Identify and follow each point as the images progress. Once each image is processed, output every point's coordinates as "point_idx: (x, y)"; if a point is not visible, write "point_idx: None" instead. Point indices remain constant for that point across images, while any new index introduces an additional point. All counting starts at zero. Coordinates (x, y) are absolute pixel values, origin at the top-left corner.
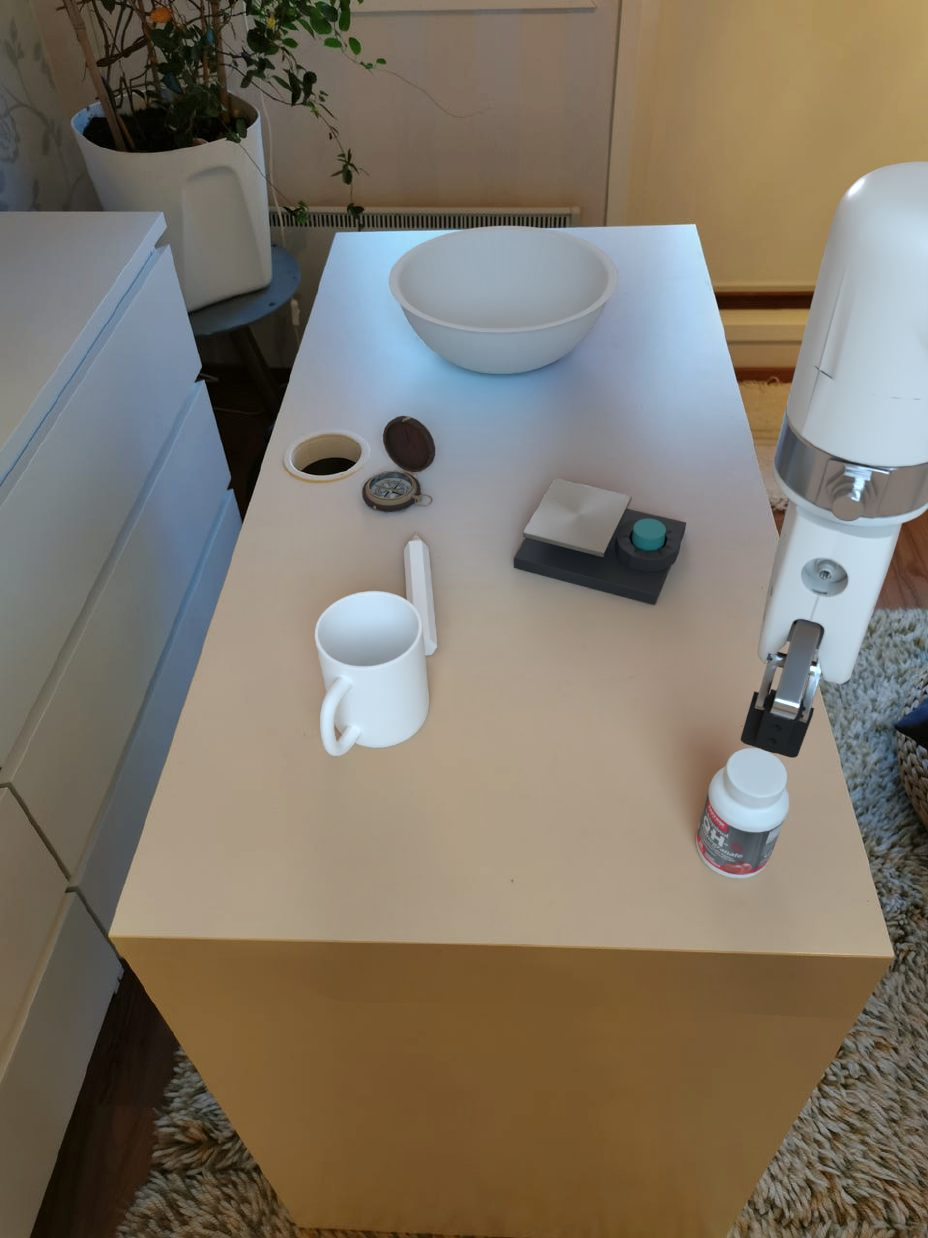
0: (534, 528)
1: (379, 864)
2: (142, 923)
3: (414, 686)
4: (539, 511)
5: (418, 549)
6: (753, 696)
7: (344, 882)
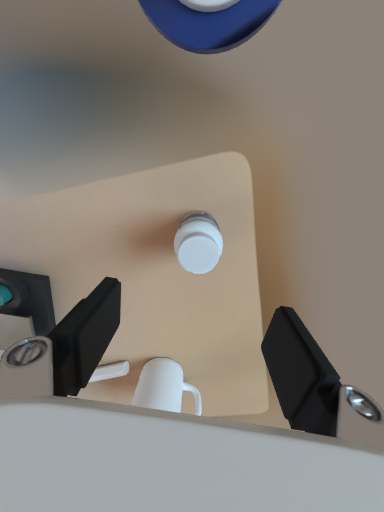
0: None
1: (234, 358)
2: (266, 409)
3: (164, 389)
4: None
5: None
6: (301, 429)
7: (243, 366)
